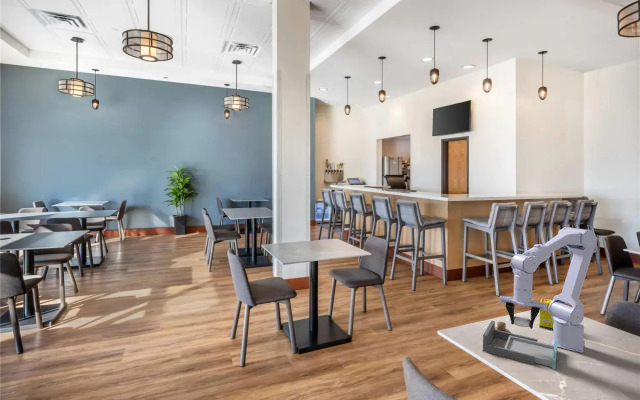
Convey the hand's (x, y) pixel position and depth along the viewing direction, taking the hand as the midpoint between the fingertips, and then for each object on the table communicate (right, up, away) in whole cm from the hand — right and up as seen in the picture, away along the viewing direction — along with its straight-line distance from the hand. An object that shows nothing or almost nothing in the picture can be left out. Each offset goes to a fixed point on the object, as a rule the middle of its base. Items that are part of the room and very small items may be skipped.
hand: (521, 325), depth 123 cm
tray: (+3, -10, -2) cm, 10 cm away
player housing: (-3, -9, +3) cm, 10 cm away
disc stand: (+1, -9, +17) cm, 19 cm away
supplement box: (+24, -9, +22) cm, 33 cm away
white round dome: (0, 0, 0) cm, 0 cm away
